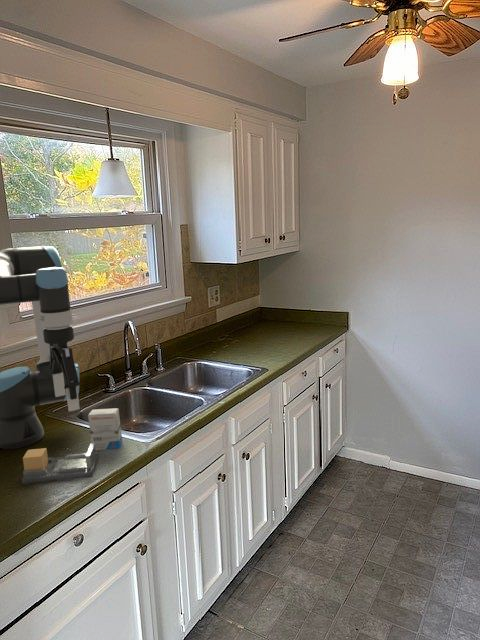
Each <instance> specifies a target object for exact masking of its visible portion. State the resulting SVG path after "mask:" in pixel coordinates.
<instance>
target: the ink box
mask: <svg viewBox="0 0 480 640" xmlns="http://www.w3.org/2000/svg"><path fill="white" fill-rule="evenodd" d="M87 418H88V425H89V426H88V427H89V432H90V442H91V443H95V450H96V451H101V450H103V451H104V450H118V449H120V448H121V446H122V445H123V435H122V427H121V419H120V411H119V407H117V408H114V407H113V408H98V409H91V410H90V412H89V413H88V415H87Z"/></svg>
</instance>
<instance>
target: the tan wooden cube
mask: <svg viewBox="0 0 480 640" xmlns="http://www.w3.org/2000/svg"><path fill="white" fill-rule="evenodd" d="M47 449H48V448H47V447H45V448H44V447H43V448H35V449H34V448H32V449H27V451H26V452H25V454H24V456H23V457H22V462H23V463H22V464H23V469H24V470H23V471H27V470H37V469H45V468H46V466H47V464H48V458H49V456H48V450H47Z"/></svg>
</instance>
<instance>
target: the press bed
mask: <svg viewBox="0 0 480 640" xmlns="http://www.w3.org/2000/svg"><path fill="white" fill-rule="evenodd" d="M99 459H100V457H99V453H98V452H97V450H95V443H92V442H91V443H89V446H88V449H87V452H84V453H74V454H66V455H65V456H58V457H57V456H56V457H48V464H47V466H46V468H45V469H37V470H27V471H25V470H23V472H22V473H23V476H22V477H21V483H22V485H25V484H26V485H27V484H37V483H46V482H53V481H63V480H65V481H66V480H73V479H74V480H75V479H82V478H83V479H85V478H93V477H94V473H95V470H96V468H97V465H98V462H99Z"/></svg>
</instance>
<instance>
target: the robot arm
mask: <svg viewBox="0 0 480 640" xmlns="http://www.w3.org/2000/svg"><path fill="white" fill-rule="evenodd" d="M69 292H70V290H69V279H68V276H67V270H66V268H64V267H63V263H62V259H61V257H60V254H59V252H58V250H57V249H56V247H54V246H51V245H50V246H49V245H48V246H47V245H40V246H28V247H27V246H25V247H9V248H3V249H0V306H2V305H3V306H5V305H12V304H21V303H30V302H31V307H32V312H33V313H32V314H33V321H34V327H35V333H36V341H37V347H38V354H39V360H38V361H37V363H36V364H35V367H36V369H34V370H31V368H29V366H17V367H11V368H8V369H6V370H3V371H1V372H0V448H2V449H1V450H15V449H21V448H24V447H28V446H30V445H33V444H35V443H37V442H38V441H40V440H41V439H43V437H44V436H45V431H44V426H43V425H42V423H41V421H40V419H39V417H38V416H37V413H36V408H35V407H36V406H43V405H46V404H47V405H48V404H53V403H58V402H59V403H60V402H65V401H66V403H67V409H68V412H69V413H70V412H73V411H77V410H80V408H81V407H80V400H79V393H80V369H79V364H78V363H75V360H74V355H73V349H72V347H69V346H68V343H69V342H72V341H73V340H74V339H75V334H74V333H75V332H74V326H73V325H72V324H73V315H72V308H71V302H70V293H69Z"/></svg>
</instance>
